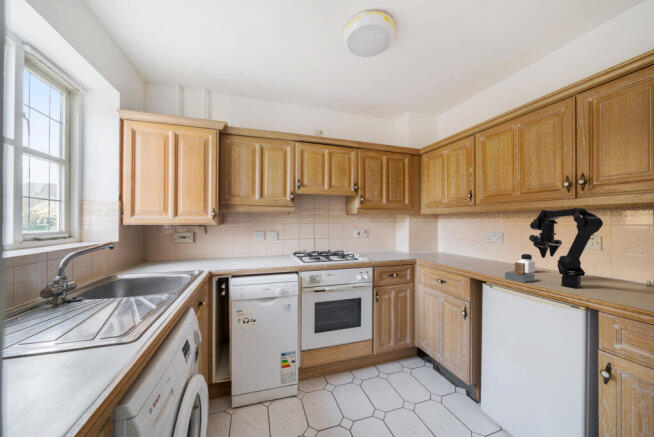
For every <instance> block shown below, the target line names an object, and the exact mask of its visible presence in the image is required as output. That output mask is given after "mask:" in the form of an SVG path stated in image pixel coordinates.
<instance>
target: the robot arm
mask: <svg viewBox="0 0 654 437" xmlns="http://www.w3.org/2000/svg"><path fill="white" fill-rule="evenodd" d="M566 217H573V219H572V220H573V221H574V222H575V223H576V230H577V232H576V236H575V238H574V239H573V242H572V244H571V246H570V248H569V249H568V252H567V254H566V255H560V256H559V257H558V258H559V259H558V260H557V261H556V262H557V269H558V272H559V274H560V275H562V276H561V284H560V286H562V287H565V288H566V287H567V288H572V289H581V288H583V285H582V283H581V282H582V277H585V274H586V272H585V271H584V269H583V268H582V267H581V265H582V263H581V260H580V258H581V256H582V254H583V252H584V250H585V248H586V246H587V244H588V243H589V240H590V239H591V237H592V236H593V235H595V234H596V233H598V232H599V231H600V230H601V228H602V227H603V226H604V225H603V224H604V222H603V220H602V219H601V218H600V217H598V216H597V215H596V214H594V213H592V212H589V211H588V210H586V208H583V207H572V208H567V209H559V210H557V209H556V210H555V209H554V210H553V209H542V210H541V211H540V212H539V213H538V215H537V217H536V218H534V219H533V221H531V223H530V224H529V227H530V229H531V230H534V231H541V232H539V233H538V235H535V234H530V235H529V237H528V240H530V242H531V243H532V244H533V247H535V248H537V249H538V251H539V253H540V256H541V258H542V259H545V258H546V255H547V254H548V251H549V256H550V257H551V258H552V257H554V256H555V254H556V253H557V251H558V250H559V248H560V247H561V245H563V242H562V241H563V240H561V239H555V236H556V235H557V233H556V232H555V225H558V224H559V223H558V221H556V220H558V219H560V218H566Z"/></svg>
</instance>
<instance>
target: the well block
mask: <svg viewBox="0 0 654 437" xmlns="http://www.w3.org/2000/svg"><path fill="white" fill-rule="evenodd" d="M504 279H505V280H509V281H514V282H518V283H523V284H526V283H531V282H535V274H534V273H525V274H523V275H521V274H516V273H514V270H513V271H505V272H504Z"/></svg>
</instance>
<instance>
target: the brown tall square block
mask: <svg viewBox="0 0 654 437" xmlns="http://www.w3.org/2000/svg"><path fill="white" fill-rule="evenodd" d="M513 271H514V273H516V274H521V275H523V274H525V263H519V262H517V261H516V262H514V270H513Z"/></svg>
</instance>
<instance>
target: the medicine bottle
mask: <svg viewBox="0 0 654 437" xmlns="http://www.w3.org/2000/svg"><path fill="white" fill-rule="evenodd" d="M532 258H533V255H532V254H530V253H521V254H520V260H517V261H516V262H519V263H525V273H530V274H534V273H535V272H536V262H535V261H532Z"/></svg>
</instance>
